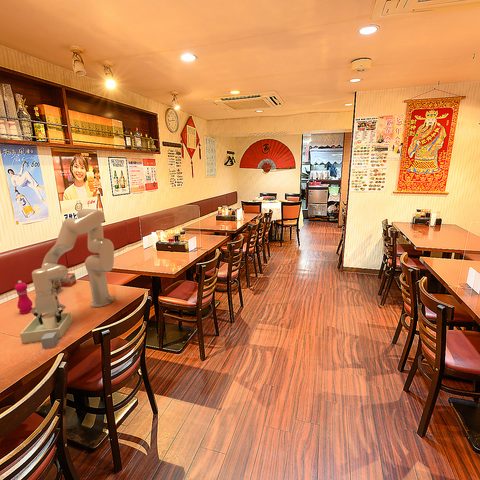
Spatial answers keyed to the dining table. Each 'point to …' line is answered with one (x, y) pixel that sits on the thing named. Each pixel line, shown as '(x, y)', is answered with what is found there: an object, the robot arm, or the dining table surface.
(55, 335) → the cube
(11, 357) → the dining table surface
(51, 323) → the shot glass
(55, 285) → the coffee box
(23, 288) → the pepper mill
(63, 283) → the medicine box
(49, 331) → the tote
